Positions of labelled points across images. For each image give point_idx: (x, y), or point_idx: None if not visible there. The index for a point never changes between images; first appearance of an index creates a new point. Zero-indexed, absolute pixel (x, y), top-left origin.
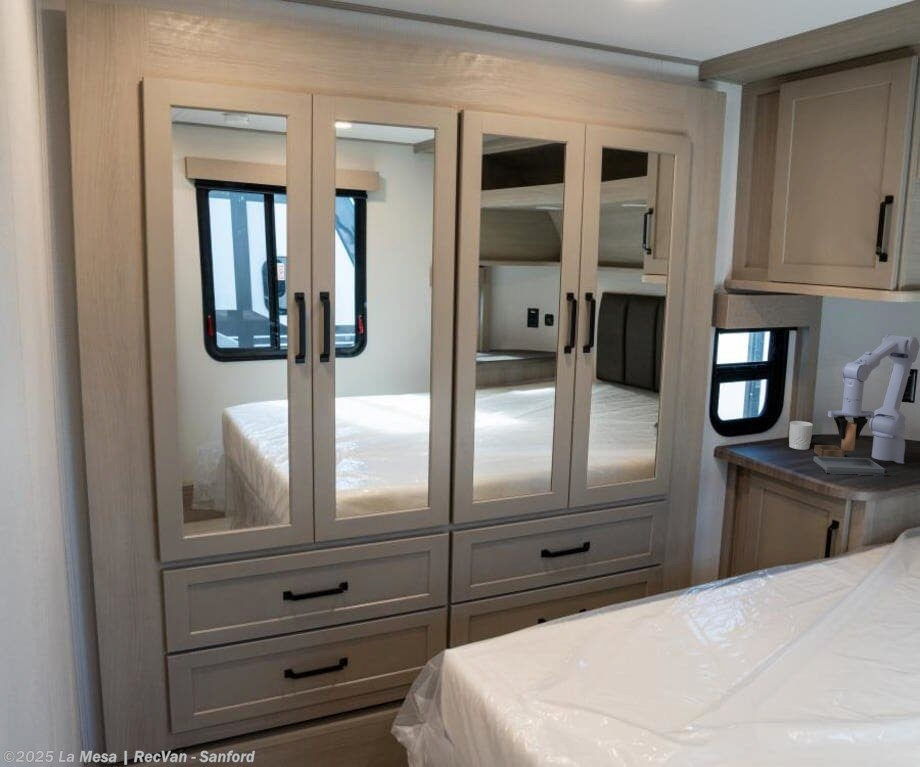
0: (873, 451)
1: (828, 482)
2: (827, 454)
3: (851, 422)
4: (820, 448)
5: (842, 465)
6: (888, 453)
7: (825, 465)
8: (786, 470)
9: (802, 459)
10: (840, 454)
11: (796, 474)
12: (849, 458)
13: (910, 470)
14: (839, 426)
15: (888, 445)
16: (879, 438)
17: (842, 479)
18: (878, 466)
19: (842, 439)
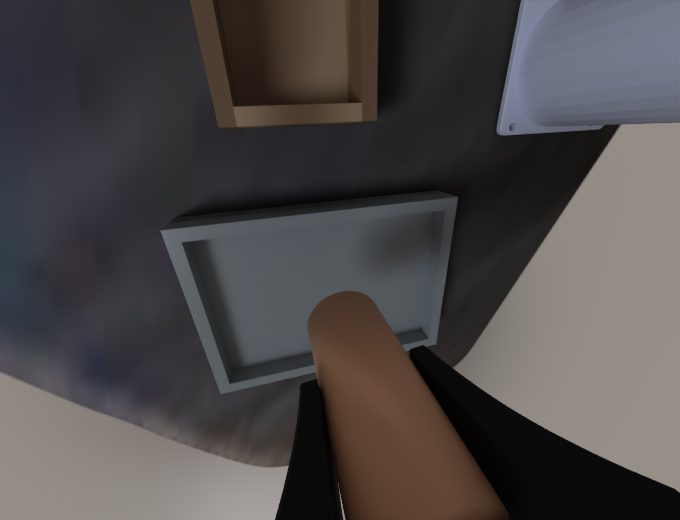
0: (555, 60)
1: (220, 442)
2: (263, 126)
3: (483, 512)
4: (212, 52)
5: (307, 287)
6: (590, 124)
7: (215, 378)
8: (38, 378)
9: (103, 134)
10: (346, 122)
11: (97, 411)
12: (364, 219)
13: (549, 225)
14: (304, 509)
15: (643, 123)
16: (674, 86)
17: (273, 400)
18: (431, 318)
19: (319, 386)
